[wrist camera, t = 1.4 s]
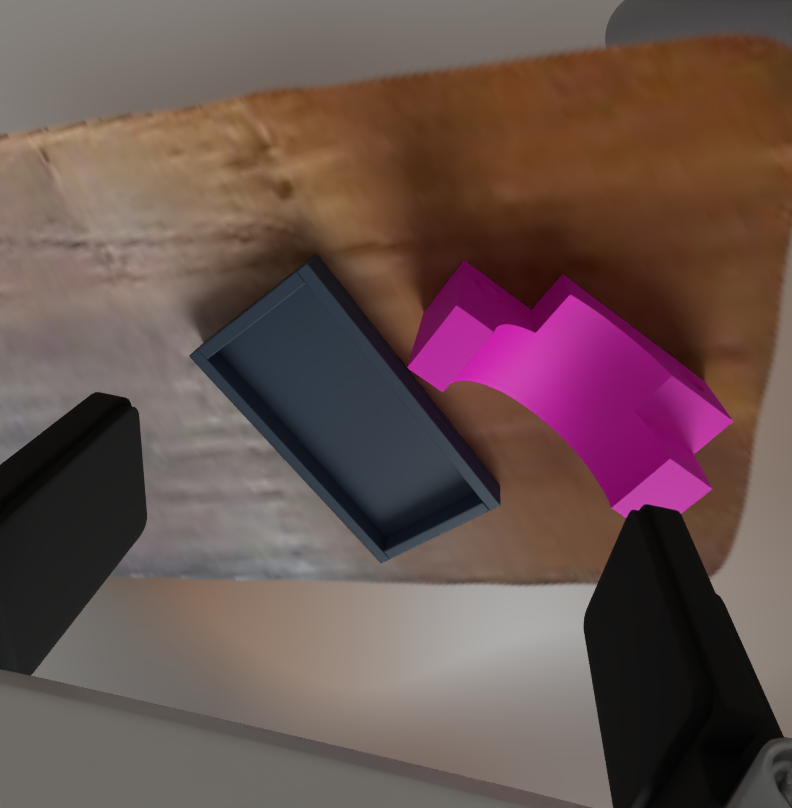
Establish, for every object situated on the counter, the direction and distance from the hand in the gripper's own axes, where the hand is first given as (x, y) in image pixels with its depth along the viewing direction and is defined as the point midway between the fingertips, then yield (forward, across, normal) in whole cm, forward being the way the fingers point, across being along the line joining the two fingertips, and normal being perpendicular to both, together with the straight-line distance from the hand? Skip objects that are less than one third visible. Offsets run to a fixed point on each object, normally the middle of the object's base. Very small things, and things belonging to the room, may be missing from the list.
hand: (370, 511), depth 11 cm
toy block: (+24, -8, +5) cm, 25 cm away
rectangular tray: (+23, +4, +12) cm, 27 cm away
